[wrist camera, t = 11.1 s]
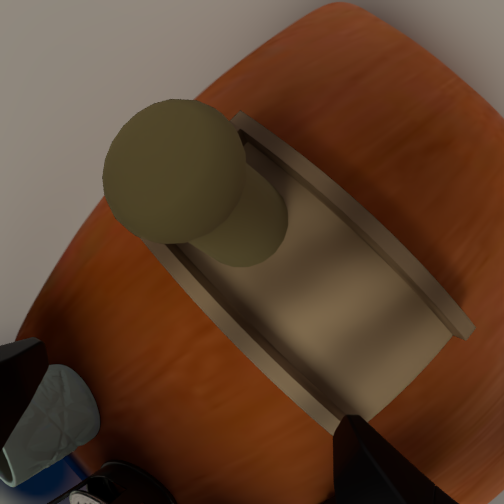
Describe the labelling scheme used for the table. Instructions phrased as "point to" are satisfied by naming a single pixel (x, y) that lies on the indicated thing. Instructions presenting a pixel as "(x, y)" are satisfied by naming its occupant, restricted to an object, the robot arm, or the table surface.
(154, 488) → the french press
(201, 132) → the olive pawn figure
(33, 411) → the pale green plant pot
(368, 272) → the track
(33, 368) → the robot arm
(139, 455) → the table surface
